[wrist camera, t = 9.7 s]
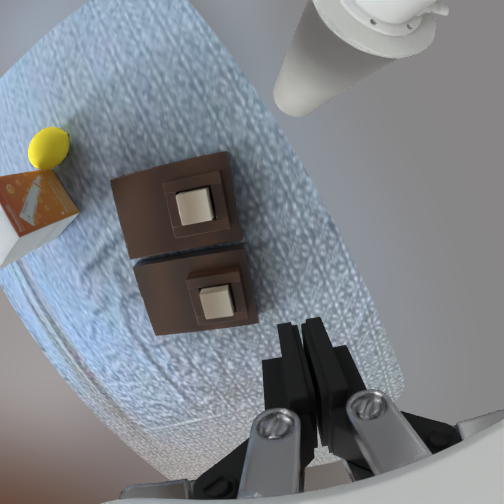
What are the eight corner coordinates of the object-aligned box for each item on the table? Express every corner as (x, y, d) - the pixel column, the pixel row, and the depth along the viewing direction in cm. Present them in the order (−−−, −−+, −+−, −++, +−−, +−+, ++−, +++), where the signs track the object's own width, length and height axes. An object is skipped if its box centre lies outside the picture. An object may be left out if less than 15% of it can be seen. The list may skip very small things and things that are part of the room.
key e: (228, 283, 33) (227, 290, 32) (234, 308, 34) (233, 315, 33) (201, 288, 34) (199, 294, 32) (207, 312, 35) (206, 319, 33)
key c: (208, 187, 30) (206, 188, 28) (214, 216, 31) (212, 220, 29) (179, 193, 30) (175, 195, 29) (185, 222, 31) (182, 226, 30)
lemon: (47, 175, 32) (24, 180, 27) (39, 141, 31) (15, 142, 26) (84, 154, 32) (61, 155, 27) (74, 118, 30) (51, 114, 25)
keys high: (244, 242, 36) (244, 253, 32) (258, 314, 39) (259, 331, 35) (138, 261, 36) (126, 272, 32) (159, 327, 39) (152, 343, 36)
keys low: (227, 151, 32) (225, 150, 29) (243, 234, 35) (242, 244, 32) (117, 178, 33) (102, 181, 29) (136, 254, 36) (124, 265, 32)
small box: (82, 211, 34) (20, 238, 22) (57, 239, 35) (-2, 272, 23) (52, 166, 32) (-14, 177, 20) (29, 196, 33) (-33, 216, 21)
